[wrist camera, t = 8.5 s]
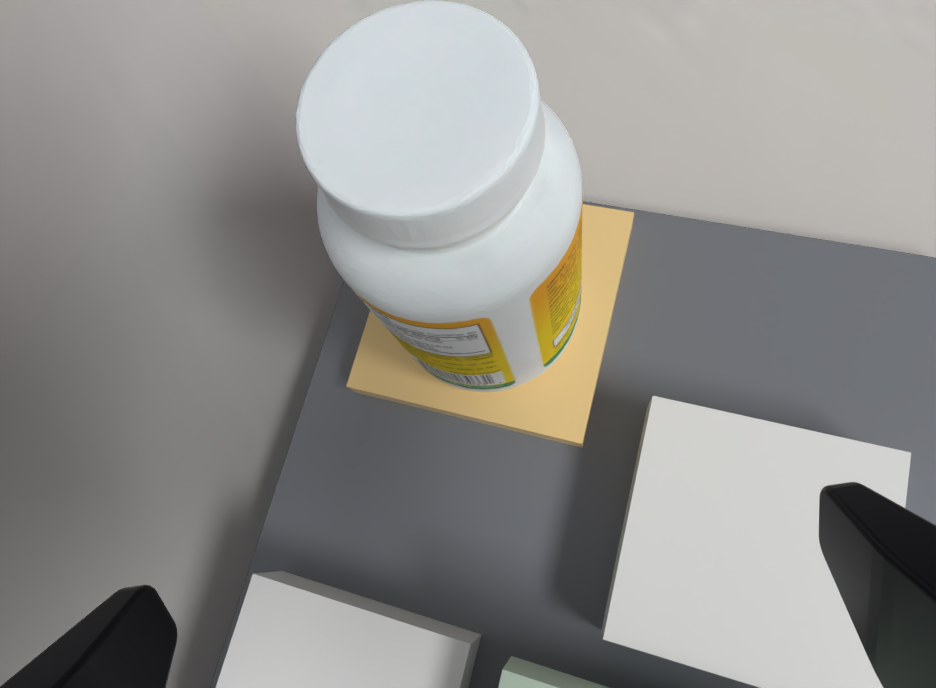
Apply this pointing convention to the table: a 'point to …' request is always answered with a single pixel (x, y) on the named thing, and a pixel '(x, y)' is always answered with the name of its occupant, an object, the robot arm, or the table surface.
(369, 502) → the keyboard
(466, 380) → the supplement bottle
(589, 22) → the table surface
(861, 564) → the robot arm
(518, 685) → the green key
